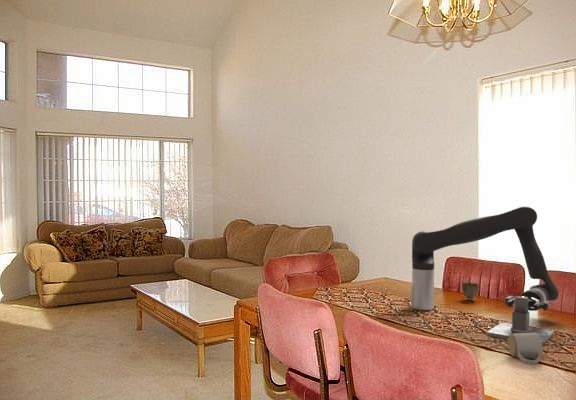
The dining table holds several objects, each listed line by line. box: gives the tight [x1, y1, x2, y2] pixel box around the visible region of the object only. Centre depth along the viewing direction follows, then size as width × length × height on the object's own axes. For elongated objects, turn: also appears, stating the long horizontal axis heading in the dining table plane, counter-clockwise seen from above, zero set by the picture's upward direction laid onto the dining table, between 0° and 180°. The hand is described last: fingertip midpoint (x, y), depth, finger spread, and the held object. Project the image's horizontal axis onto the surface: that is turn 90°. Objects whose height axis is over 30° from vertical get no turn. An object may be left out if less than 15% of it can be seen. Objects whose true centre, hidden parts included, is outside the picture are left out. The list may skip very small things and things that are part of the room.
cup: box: [461, 281, 479, 302], centre depth 241 cm, size 8×7×8 cm
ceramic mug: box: [507, 333, 543, 365], centre depth 156 cm, size 11×8×8 cm
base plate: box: [486, 322, 555, 346], centre depth 183 cm, size 18×18×5 cm
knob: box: [511, 296, 531, 331], centre depth 183 cm, size 5×5×11 cm
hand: (522, 306), depth 184 cm, fingers open, 8 cm apart
